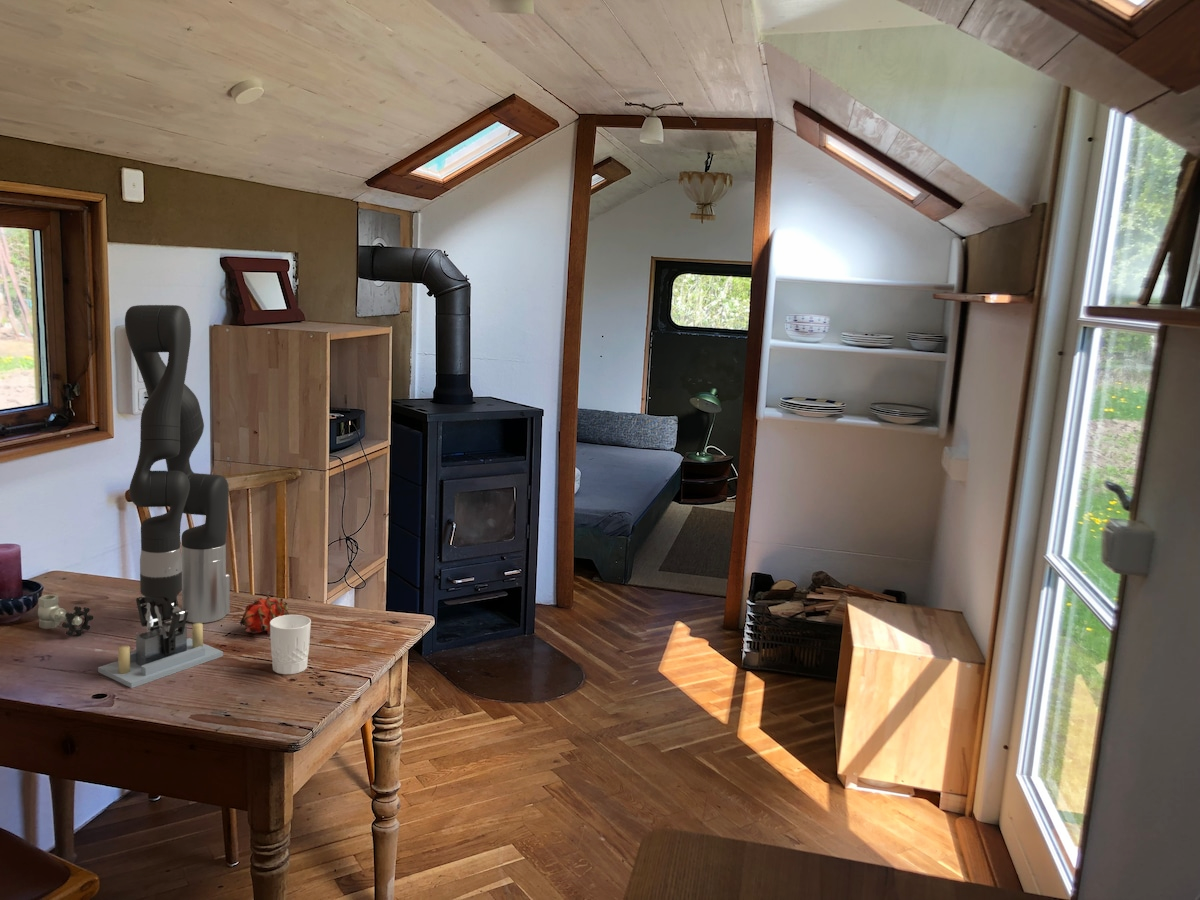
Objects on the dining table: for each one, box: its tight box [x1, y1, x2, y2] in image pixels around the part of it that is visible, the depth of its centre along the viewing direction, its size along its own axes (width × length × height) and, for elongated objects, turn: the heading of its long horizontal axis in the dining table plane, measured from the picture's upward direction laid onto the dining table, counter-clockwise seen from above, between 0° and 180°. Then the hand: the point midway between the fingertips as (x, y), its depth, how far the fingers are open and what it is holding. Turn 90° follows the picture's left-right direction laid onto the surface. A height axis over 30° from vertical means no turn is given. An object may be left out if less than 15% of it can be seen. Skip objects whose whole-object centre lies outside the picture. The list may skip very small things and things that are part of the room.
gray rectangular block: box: [135, 625, 188, 666], centre depth 188 cm, size 9×3×6 cm, turn 148°
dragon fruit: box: [239, 595, 290, 635], centre depth 208 cm, size 8×8×12 cm
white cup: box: [269, 614, 312, 675], centre depth 190 cm, size 8×8×10 cm
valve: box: [37, 594, 95, 637], centre depth 201 cm, size 7×7×12 cm
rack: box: [97, 623, 224, 689], centre depth 188 cm, size 20×11×6 cm, turn 148°
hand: (162, 651), depth 188 cm, fingers open, 4 cm apart
